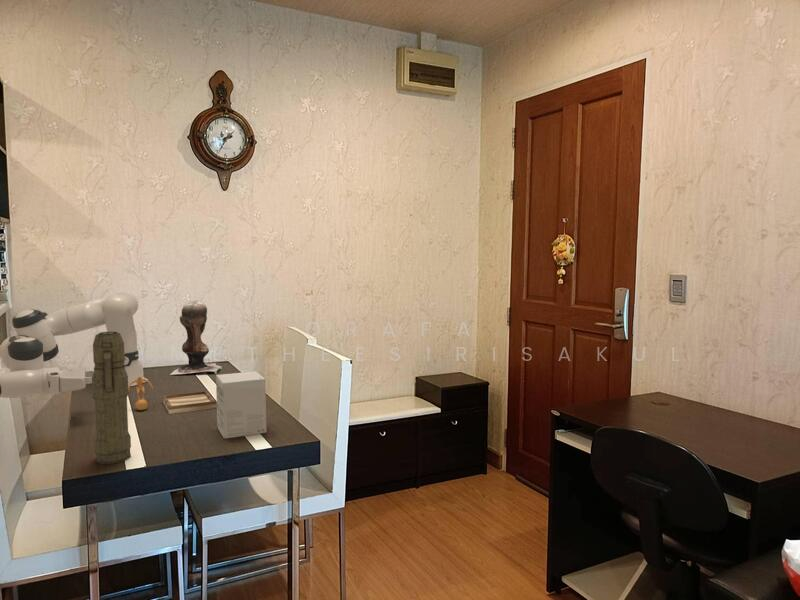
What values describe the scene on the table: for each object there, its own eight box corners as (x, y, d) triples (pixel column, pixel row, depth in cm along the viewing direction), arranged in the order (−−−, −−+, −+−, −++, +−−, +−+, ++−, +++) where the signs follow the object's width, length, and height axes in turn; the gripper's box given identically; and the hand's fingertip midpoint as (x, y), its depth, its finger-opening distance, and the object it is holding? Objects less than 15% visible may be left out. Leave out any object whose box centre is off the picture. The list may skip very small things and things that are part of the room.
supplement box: (257, 421, 191) (256, 370, 189) (267, 433, 179) (266, 378, 178) (216, 427, 185) (215, 374, 183) (223, 439, 173) (222, 382, 172)
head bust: (225, 362, 288) (220, 294, 281) (218, 378, 263) (213, 304, 257) (179, 365, 284) (174, 296, 278) (168, 381, 260) (162, 306, 253)
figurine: (129, 413, 200) (128, 379, 199) (127, 409, 205) (126, 376, 204) (155, 409, 205) (154, 377, 204) (152, 405, 210) (151, 373, 209)
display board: (162, 402, 215) (162, 395, 215) (206, 396, 223) (206, 390, 223) (169, 414, 199) (168, 407, 199) (216, 408, 207) (215, 401, 207)
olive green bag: (96, 468, 150) (90, 336, 147) (94, 454, 160) (88, 331, 157) (133, 462, 154) (128, 334, 151) (129, 448, 164) (124, 329, 161)
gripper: (56, 383, 200) (100, 378, 207) (53, 396, 182) (101, 390, 189) (55, 365, 199) (99, 361, 206) (51, 376, 182) (100, 372, 188)
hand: (100, 375), depth 197 cm, fingers open, 8 cm apart
